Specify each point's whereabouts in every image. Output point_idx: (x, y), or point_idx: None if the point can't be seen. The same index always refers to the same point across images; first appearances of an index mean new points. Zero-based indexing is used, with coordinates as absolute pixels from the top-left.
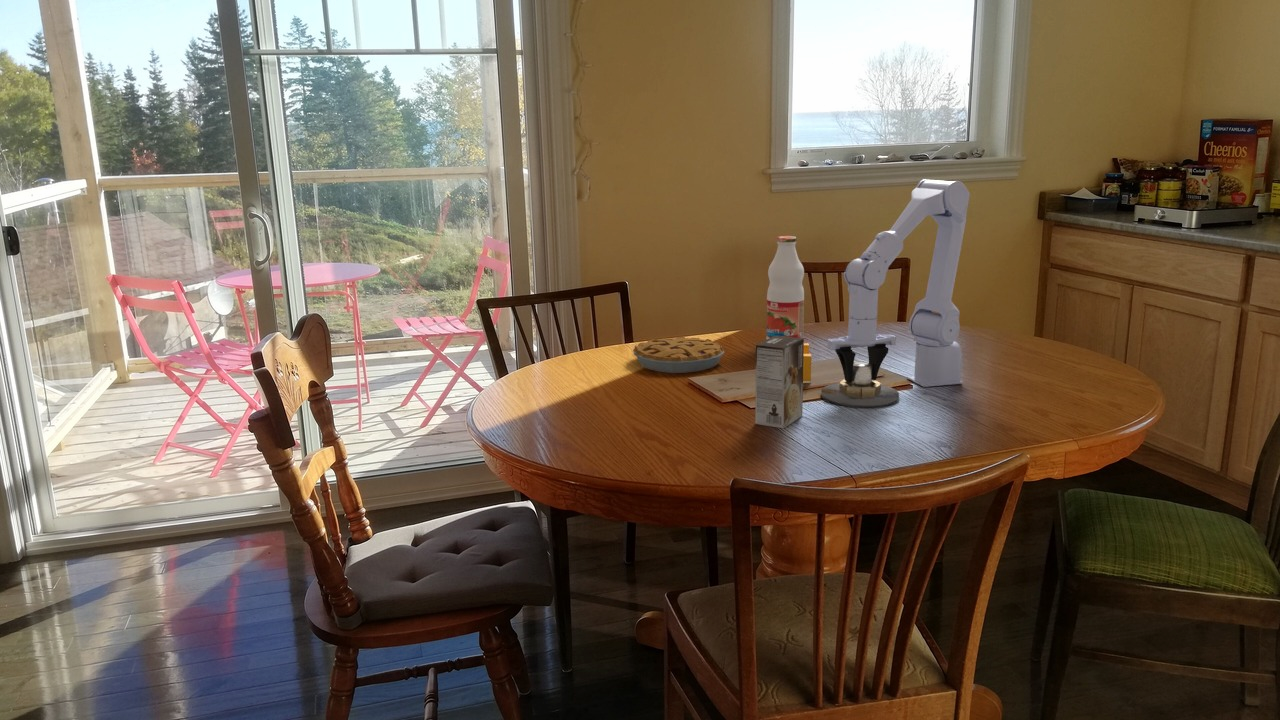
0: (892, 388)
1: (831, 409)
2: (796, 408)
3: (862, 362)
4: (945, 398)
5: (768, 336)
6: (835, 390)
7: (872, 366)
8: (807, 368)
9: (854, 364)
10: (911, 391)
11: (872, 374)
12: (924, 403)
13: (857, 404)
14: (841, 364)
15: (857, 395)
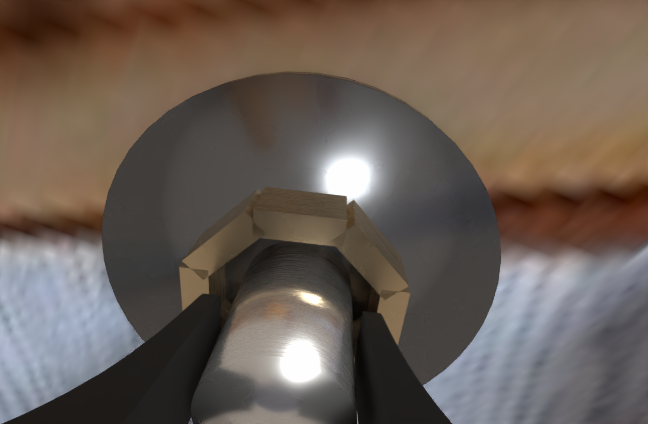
0: (491, 292)
1: (110, 353)
2: None
3: (322, 375)
4: (616, 405)
5: None
6: (189, 211)
7: (367, 413)
8: None
9: (226, 398)
10: (586, 289)
11: (358, 375)
12: (489, 418)
13: None
14: (126, 358)
15: None
